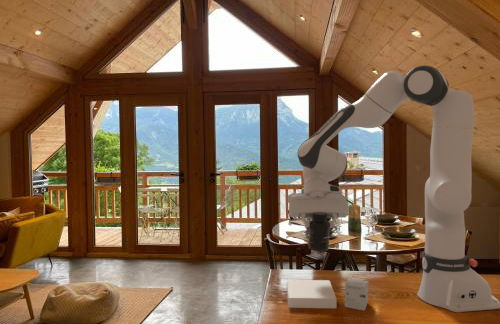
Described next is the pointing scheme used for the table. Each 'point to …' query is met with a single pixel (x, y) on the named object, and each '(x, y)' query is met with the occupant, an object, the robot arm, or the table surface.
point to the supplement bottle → (319, 232)
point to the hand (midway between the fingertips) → (319, 227)
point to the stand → (310, 294)
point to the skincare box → (356, 293)
